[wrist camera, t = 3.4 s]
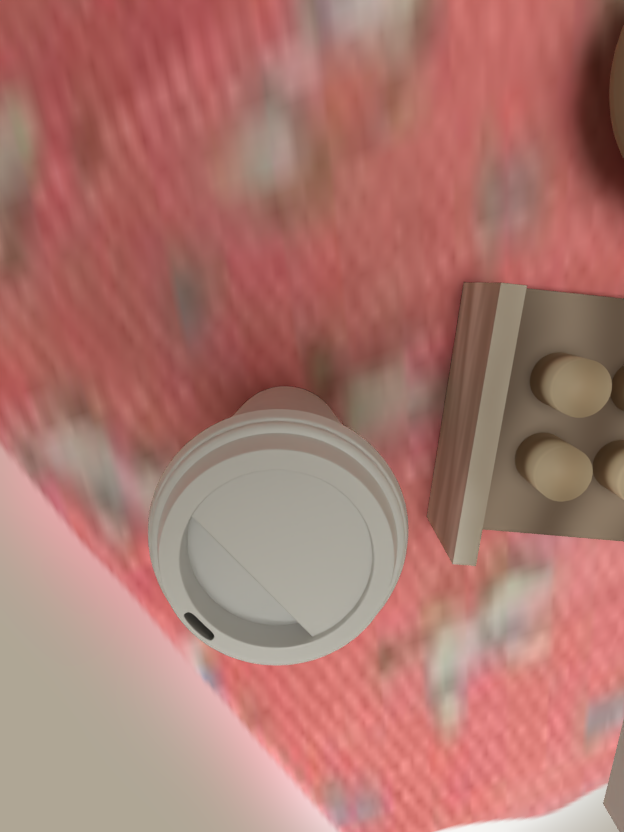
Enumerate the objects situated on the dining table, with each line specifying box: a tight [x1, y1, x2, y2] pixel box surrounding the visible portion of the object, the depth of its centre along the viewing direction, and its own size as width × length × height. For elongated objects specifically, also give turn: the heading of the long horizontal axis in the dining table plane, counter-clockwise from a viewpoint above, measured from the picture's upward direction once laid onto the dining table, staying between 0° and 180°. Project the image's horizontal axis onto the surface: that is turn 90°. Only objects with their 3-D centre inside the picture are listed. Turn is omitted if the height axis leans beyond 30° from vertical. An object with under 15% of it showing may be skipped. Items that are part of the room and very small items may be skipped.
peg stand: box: [427, 282, 624, 566], centre depth 31 cm, size 16×14×6 cm
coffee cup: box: [148, 386, 408, 665], centre depth 26 cm, size 10×10×15 cm
